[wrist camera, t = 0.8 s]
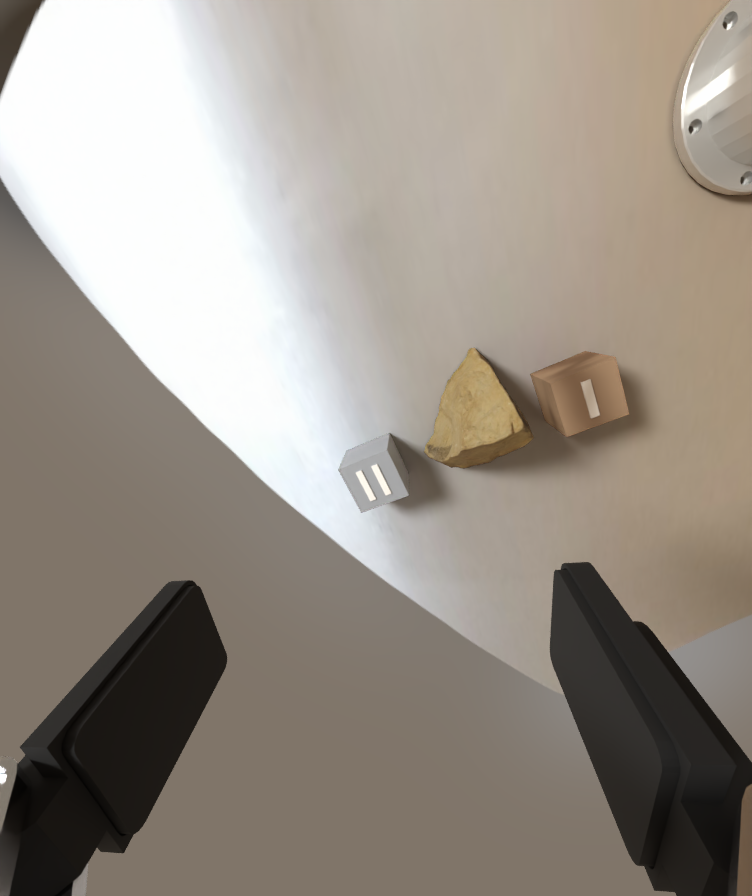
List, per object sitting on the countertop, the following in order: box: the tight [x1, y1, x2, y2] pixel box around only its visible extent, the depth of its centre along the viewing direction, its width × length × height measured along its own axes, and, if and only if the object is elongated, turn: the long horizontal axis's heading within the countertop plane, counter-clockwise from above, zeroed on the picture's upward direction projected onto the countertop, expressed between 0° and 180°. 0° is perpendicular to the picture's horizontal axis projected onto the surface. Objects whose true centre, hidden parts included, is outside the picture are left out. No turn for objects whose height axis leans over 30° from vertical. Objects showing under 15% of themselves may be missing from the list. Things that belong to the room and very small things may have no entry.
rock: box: [424, 348, 534, 468], centre depth 32 cm, size 11×9×10 cm
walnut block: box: [530, 351, 629, 437], centre depth 31 cm, size 5×5×5 cm
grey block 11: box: [338, 433, 409, 513], centre depth 35 cm, size 5×5×5 cm
